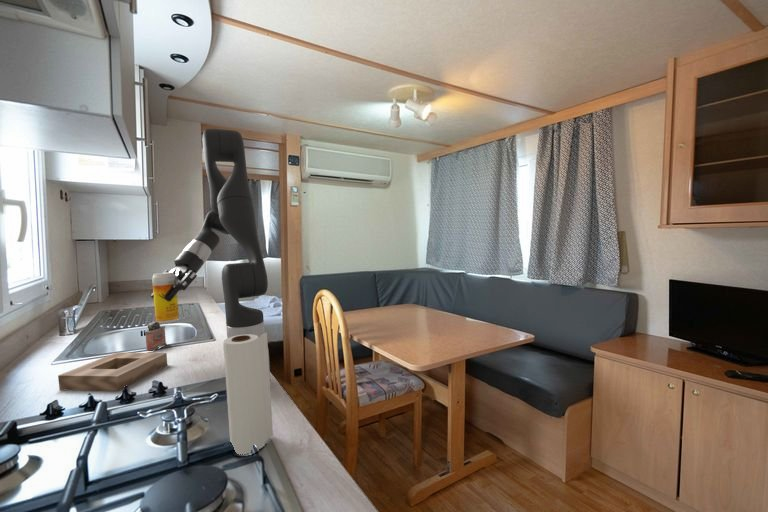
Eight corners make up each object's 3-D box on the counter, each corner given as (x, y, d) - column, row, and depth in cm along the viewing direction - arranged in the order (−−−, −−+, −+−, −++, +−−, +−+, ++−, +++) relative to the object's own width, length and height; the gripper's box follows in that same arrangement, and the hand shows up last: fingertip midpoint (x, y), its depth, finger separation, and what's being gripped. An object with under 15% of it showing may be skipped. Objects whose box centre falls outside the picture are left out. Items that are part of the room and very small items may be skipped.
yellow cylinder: (171, 323, 105) (166, 274, 104) (151, 324, 105) (146, 274, 104) (183, 318, 111) (179, 271, 110) (164, 319, 111) (160, 272, 110)
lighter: (151, 352, 125) (149, 324, 125) (143, 352, 126) (141, 324, 125) (169, 345, 133) (167, 319, 133) (161, 344, 134) (159, 319, 133)
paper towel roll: (227, 460, 63) (219, 344, 61) (234, 441, 69) (227, 334, 67) (268, 454, 64) (261, 340, 63) (273, 436, 70) (266, 331, 68)
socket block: (167, 365, 112) (166, 353, 111) (118, 390, 94) (117, 376, 94) (116, 364, 114) (115, 352, 113) (59, 389, 96) (58, 375, 96)
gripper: (171, 249, 116) (136, 291, 107) (199, 249, 110) (164, 293, 100) (188, 263, 121) (155, 304, 112) (215, 264, 115) (183, 307, 105)
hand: (160, 299), depth 106 cm, fingers closed on yellow cylinder, 6 cm apart
